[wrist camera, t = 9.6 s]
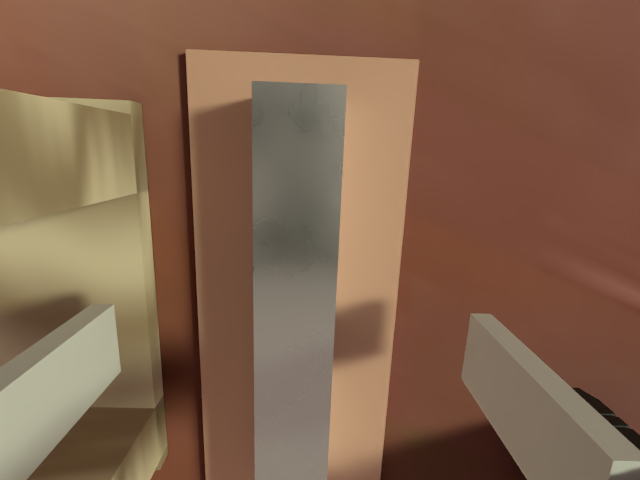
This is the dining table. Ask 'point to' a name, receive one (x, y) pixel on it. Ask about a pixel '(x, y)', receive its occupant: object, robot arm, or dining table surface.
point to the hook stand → (83, 267)
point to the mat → (353, 258)
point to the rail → (295, 272)
